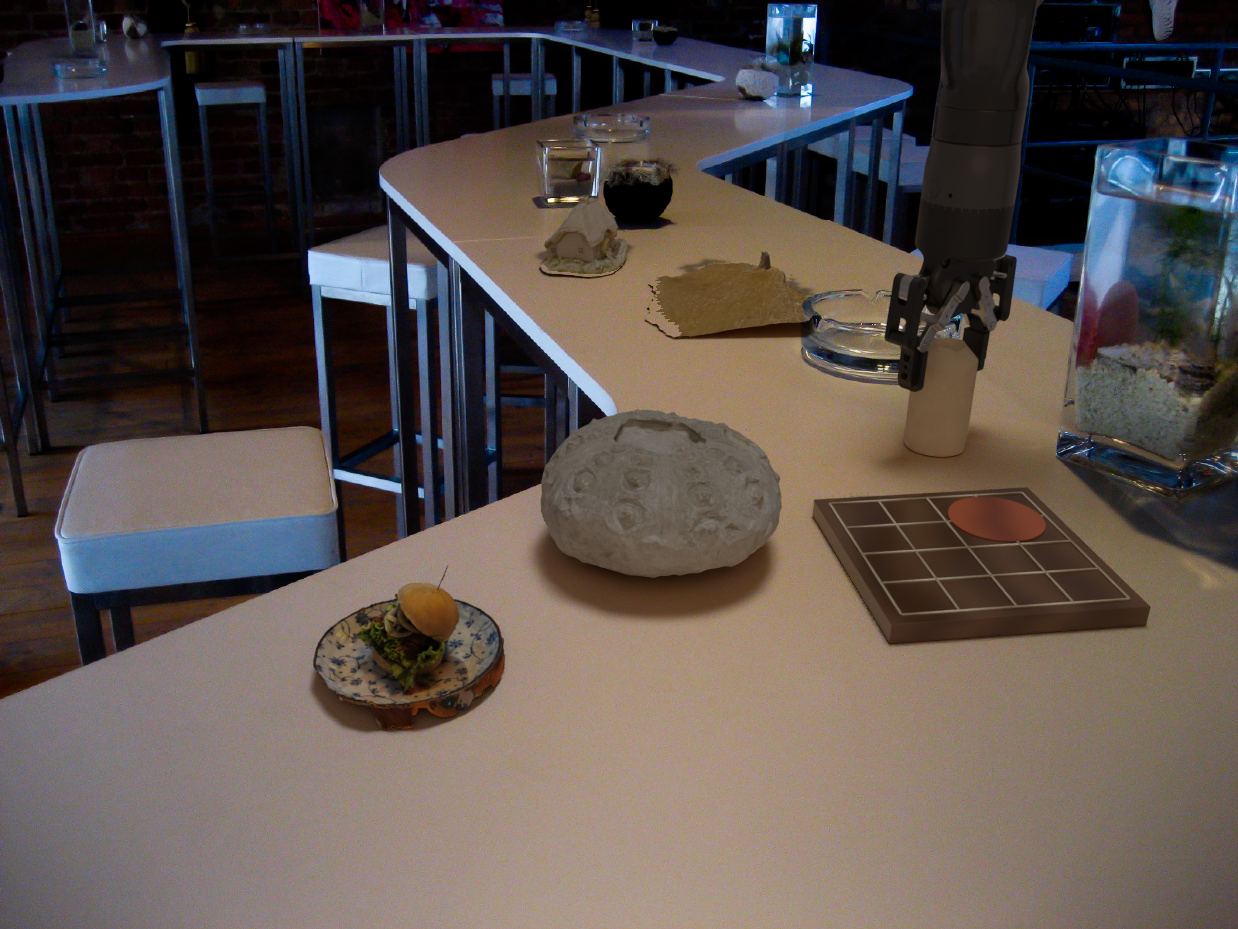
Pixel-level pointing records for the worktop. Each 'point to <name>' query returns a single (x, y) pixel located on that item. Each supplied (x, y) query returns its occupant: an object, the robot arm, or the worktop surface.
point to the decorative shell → (659, 494)
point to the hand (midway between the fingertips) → (941, 378)
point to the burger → (412, 655)
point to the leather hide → (729, 298)
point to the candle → (942, 400)
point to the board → (973, 566)
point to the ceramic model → (586, 241)
